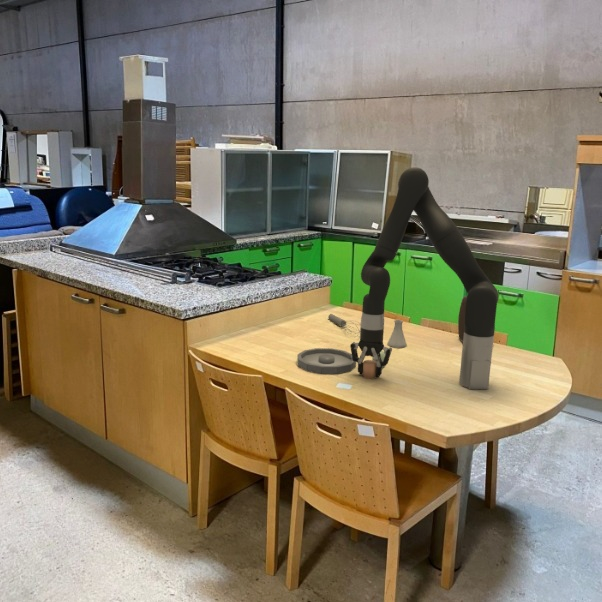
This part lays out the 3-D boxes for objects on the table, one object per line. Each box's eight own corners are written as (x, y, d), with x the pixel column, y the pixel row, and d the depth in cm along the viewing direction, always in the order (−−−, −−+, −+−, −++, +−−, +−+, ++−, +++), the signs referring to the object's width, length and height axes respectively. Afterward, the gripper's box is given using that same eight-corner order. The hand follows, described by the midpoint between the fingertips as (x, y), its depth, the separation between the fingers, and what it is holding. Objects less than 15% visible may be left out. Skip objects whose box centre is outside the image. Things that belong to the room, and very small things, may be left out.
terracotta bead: (377, 378, 199) (378, 364, 198) (363, 378, 199) (364, 364, 198) (374, 374, 204) (375, 360, 203) (361, 374, 203) (362, 359, 202)
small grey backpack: (454, 337, 249) (459, 289, 244) (474, 337, 250) (479, 289, 245) (468, 348, 234) (473, 298, 230) (489, 348, 235) (494, 298, 230)
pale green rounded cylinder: (385, 368, 210) (386, 354, 208) (373, 368, 209) (374, 354, 208) (383, 364, 214) (384, 350, 213) (370, 364, 213) (371, 350, 212)
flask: (383, 344, 236) (385, 319, 234) (396, 341, 241) (398, 317, 238) (397, 349, 231) (399, 324, 228) (410, 346, 235) (412, 321, 233)
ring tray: (359, 374, 203) (359, 367, 203) (299, 373, 202) (299, 366, 201) (350, 355, 223) (350, 348, 222) (295, 354, 221) (296, 348, 220)
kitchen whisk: (335, 318, 274) (335, 304, 272) (366, 340, 243) (367, 324, 241) (322, 318, 272) (322, 305, 270) (352, 341, 241) (353, 325, 239)
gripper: (396, 326, 198) (393, 375, 202) (354, 320, 203) (352, 368, 207) (390, 331, 191) (387, 382, 195) (347, 325, 197) (345, 375, 201)
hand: (369, 375), depth 201 cm, fingers open, 5 cm apart
